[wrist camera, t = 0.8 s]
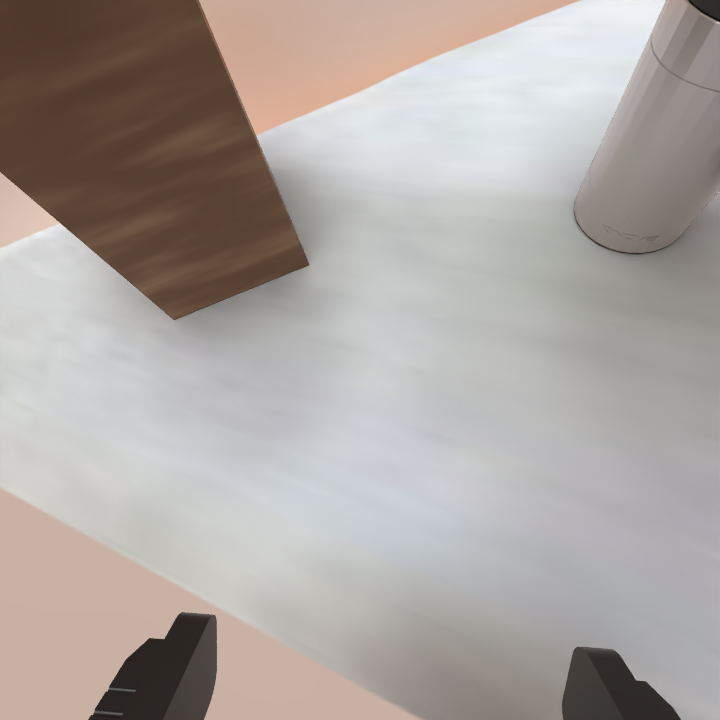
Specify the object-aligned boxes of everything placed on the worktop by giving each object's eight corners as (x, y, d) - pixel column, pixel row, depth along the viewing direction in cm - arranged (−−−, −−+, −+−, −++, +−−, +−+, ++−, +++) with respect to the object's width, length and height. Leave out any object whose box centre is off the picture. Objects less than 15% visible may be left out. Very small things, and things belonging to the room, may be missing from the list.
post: (151, 217, 46) (-260, -260, 18) (270, 169, 46) (41, -373, 18) (173, 319, 40) (-374, -147, 13) (309, 264, 40) (63, -311, 13)
